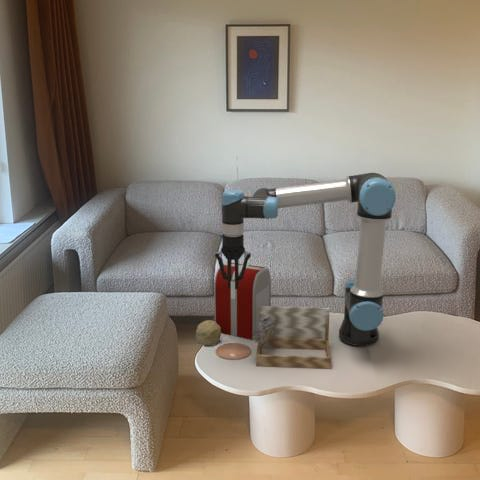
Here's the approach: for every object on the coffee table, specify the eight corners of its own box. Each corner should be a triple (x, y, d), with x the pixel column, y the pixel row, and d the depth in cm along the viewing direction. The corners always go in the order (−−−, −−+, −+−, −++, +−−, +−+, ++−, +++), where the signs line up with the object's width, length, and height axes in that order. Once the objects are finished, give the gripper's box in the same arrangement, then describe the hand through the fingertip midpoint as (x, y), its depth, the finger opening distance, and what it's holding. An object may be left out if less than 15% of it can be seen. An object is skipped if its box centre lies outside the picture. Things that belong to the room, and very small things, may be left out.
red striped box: (254, 342, 252) (254, 275, 245) (213, 334, 259) (212, 269, 252) (271, 327, 266) (272, 263, 259) (231, 319, 273) (231, 257, 266)
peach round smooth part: (252, 345, 249) (252, 343, 249) (249, 360, 237) (249, 358, 237) (217, 344, 250) (217, 342, 250) (213, 359, 238) (213, 357, 238)
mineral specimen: (279, 329, 245) (270, 326, 247) (278, 312, 240) (268, 309, 242) (258, 354, 235) (248, 350, 237) (256, 337, 231) (246, 333, 233)
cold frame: (328, 348, 247) (329, 308, 242) (330, 368, 230) (332, 326, 226) (258, 345, 249) (258, 306, 244) (256, 366, 232) (256, 323, 228)
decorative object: (208, 355, 248) (224, 336, 245) (187, 339, 248) (202, 319, 245) (213, 347, 257) (228, 328, 254) (193, 330, 257) (208, 312, 254)
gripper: (252, 231, 235) (251, 294, 241) (215, 231, 236) (216, 293, 242) (250, 237, 227) (250, 301, 234) (213, 236, 228) (214, 300, 235)
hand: (233, 297), depth 238 cm, fingers closed
